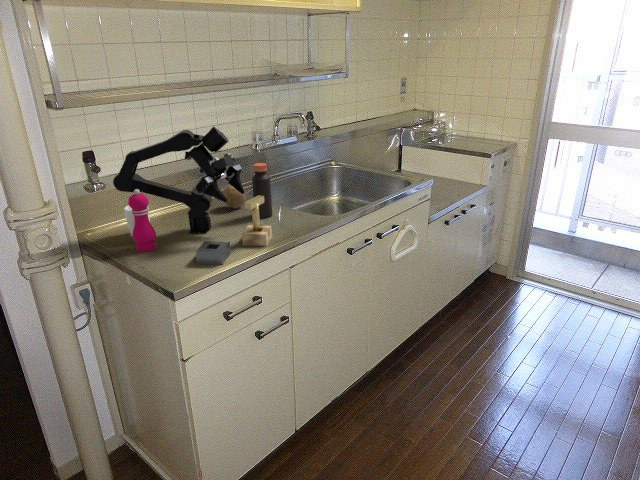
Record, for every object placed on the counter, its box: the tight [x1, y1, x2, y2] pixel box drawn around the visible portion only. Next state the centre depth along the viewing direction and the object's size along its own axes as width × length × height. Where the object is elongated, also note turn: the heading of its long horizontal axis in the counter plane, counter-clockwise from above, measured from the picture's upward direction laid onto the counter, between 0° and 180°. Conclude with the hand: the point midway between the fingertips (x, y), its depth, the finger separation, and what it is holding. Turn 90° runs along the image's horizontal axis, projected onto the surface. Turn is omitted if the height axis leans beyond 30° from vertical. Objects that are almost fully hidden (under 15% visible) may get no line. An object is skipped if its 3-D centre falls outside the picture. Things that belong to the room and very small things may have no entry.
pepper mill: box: [127, 189, 157, 253], centre depth 150 cm, size 7×7×20 cm
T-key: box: [244, 195, 264, 232], centre depth 155 cm, size 8×2×15 cm, turn 154°
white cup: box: [123, 205, 151, 238], centre depth 164 cm, size 8×8×10 cm
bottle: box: [251, 162, 273, 219], centre depth 177 cm, size 7×7×20 cm
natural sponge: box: [222, 184, 247, 209], centre depth 188 cm, size 9×9×10 cm
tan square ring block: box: [241, 224, 273, 247], centre depth 157 cm, size 8×8×4 cm
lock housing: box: [195, 240, 232, 265], centre depth 144 cm, size 8×8×4 cm
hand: (235, 197), depth 158 cm, fingers open, 9 cm apart
